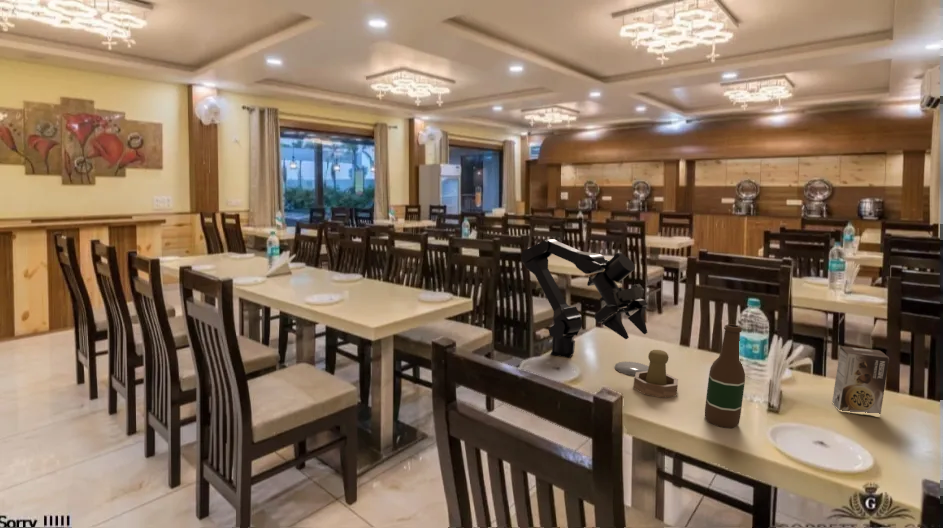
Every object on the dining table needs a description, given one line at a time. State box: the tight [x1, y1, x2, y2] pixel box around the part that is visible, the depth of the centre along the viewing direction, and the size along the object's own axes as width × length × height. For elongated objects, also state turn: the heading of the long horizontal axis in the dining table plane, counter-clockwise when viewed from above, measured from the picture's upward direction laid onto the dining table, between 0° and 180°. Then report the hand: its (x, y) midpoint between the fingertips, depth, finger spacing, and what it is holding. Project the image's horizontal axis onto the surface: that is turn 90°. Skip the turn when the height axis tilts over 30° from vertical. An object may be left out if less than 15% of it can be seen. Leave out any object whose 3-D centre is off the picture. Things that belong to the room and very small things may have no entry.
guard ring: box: [632, 371, 679, 398], centre depth 146 cm, size 11×11×3 cm
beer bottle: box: [704, 323, 746, 429], centre depth 125 cm, size 8×8×24 cm
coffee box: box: [831, 345, 890, 414], centre depth 136 cm, size 9×6×16 cm
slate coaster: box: [614, 361, 649, 377], centre depth 160 cm, size 11×11×1 cm
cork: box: [645, 349, 669, 385], centre depth 145 cm, size 6×6×11 cm
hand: (636, 336), depth 150 cm, fingers open, 9 cm apart
